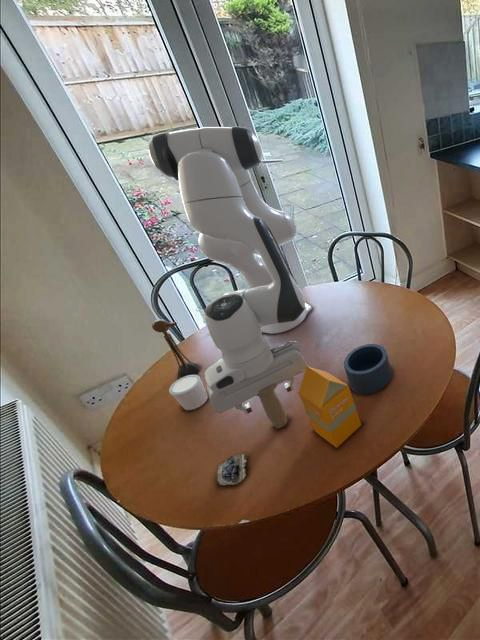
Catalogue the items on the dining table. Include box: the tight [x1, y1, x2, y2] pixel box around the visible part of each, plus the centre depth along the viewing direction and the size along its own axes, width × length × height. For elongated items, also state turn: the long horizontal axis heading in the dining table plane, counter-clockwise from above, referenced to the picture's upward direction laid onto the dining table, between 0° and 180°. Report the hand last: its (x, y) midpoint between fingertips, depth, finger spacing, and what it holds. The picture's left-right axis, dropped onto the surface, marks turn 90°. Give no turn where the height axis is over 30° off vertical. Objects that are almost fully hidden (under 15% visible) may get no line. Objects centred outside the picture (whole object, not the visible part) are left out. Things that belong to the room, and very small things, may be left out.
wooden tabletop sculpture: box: [151, 319, 200, 378], centre depth 114 cm, size 6×5×20 cm
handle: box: [255, 383, 289, 429], centre depth 100 cm, size 5×6×15 cm
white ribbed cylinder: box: [168, 374, 209, 411], centre depth 108 cm, size 7×7×7 cm
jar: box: [343, 343, 392, 395], centre depth 114 cm, size 12×12×8 cm
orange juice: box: [298, 365, 362, 448], centre depth 97 cm, size 8×9×20 cm
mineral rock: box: [216, 453, 247, 486], centre depth 92 cm, size 7×8×2 cm
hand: (270, 400), depth 99 cm, fingers open, 8 cm apart
